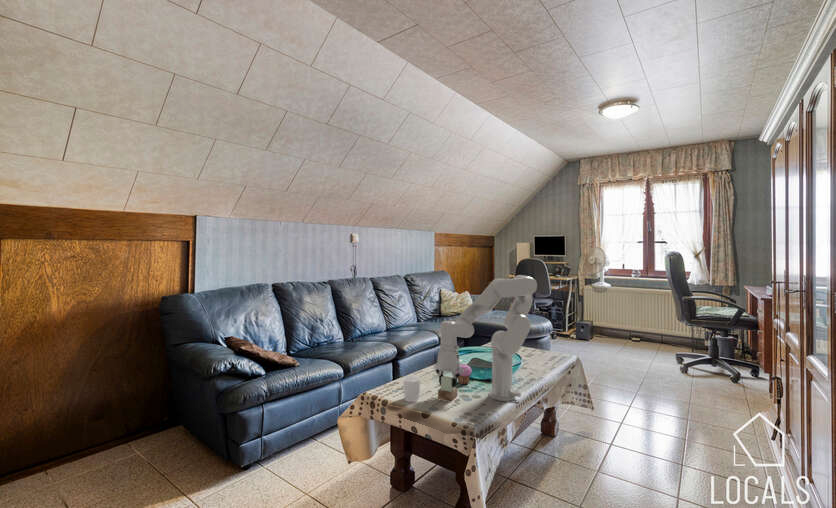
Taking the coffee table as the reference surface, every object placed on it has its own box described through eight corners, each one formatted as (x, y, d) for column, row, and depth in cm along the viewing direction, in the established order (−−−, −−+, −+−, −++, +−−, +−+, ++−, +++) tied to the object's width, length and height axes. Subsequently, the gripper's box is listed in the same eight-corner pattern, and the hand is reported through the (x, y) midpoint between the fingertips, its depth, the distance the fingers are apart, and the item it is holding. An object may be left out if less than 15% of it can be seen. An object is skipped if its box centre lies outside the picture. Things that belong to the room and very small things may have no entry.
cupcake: (458, 386, 202) (458, 367, 202) (452, 381, 211) (452, 362, 211) (474, 385, 205) (474, 366, 205) (467, 379, 213) (467, 361, 213)
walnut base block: (457, 396, 187) (457, 388, 187) (451, 401, 181) (451, 392, 181) (443, 393, 191) (443, 385, 191) (437, 398, 184) (438, 390, 184)
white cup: (418, 404, 179) (418, 382, 179) (401, 402, 180) (401, 381, 180) (421, 397, 186) (421, 376, 186) (405, 396, 188) (405, 375, 188)
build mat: (469, 397, 187) (469, 396, 187) (461, 406, 177) (461, 405, 176) (435, 391, 195) (435, 390, 195) (425, 399, 185) (425, 398, 185)
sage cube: (454, 388, 187) (454, 375, 187) (450, 391, 182) (451, 378, 182) (444, 386, 189) (445, 374, 189) (440, 389, 185) (441, 377, 185)
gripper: (468, 347, 185) (467, 385, 185) (435, 343, 193) (434, 380, 193) (462, 351, 178) (462, 391, 179) (428, 346, 186) (428, 384, 186)
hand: (447, 384), depth 186 cm, fingers open, 5 cm apart
